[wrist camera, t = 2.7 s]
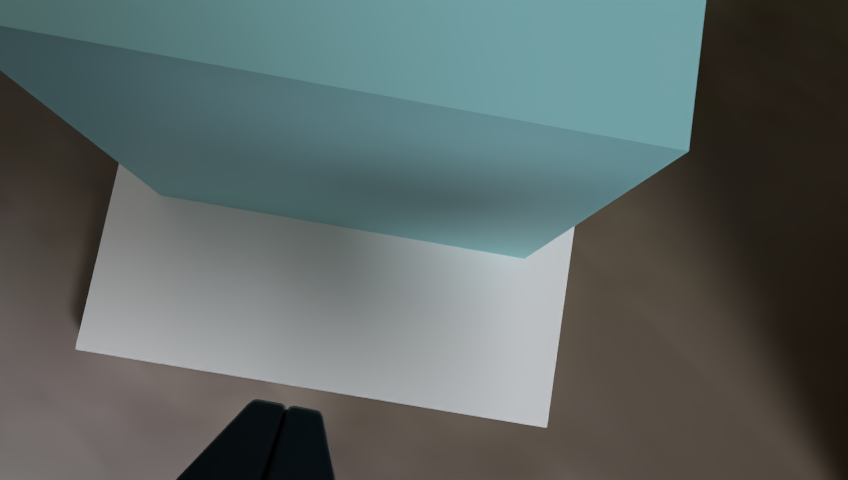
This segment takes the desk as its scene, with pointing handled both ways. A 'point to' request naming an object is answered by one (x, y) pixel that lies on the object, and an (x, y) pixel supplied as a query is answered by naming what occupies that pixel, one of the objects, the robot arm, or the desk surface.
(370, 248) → the board
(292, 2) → the t block
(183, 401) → the desk surface
